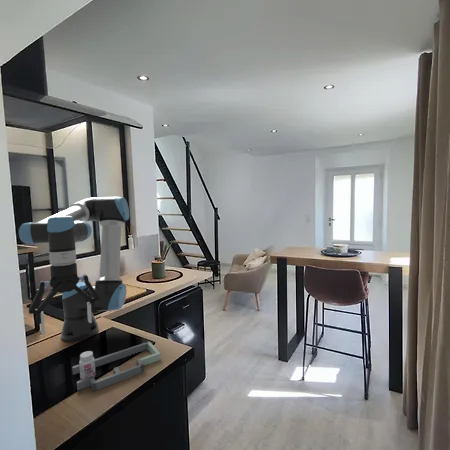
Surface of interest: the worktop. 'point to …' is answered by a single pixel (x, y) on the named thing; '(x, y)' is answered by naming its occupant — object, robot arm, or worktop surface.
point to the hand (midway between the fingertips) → (67, 327)
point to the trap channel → (117, 374)
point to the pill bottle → (87, 365)
